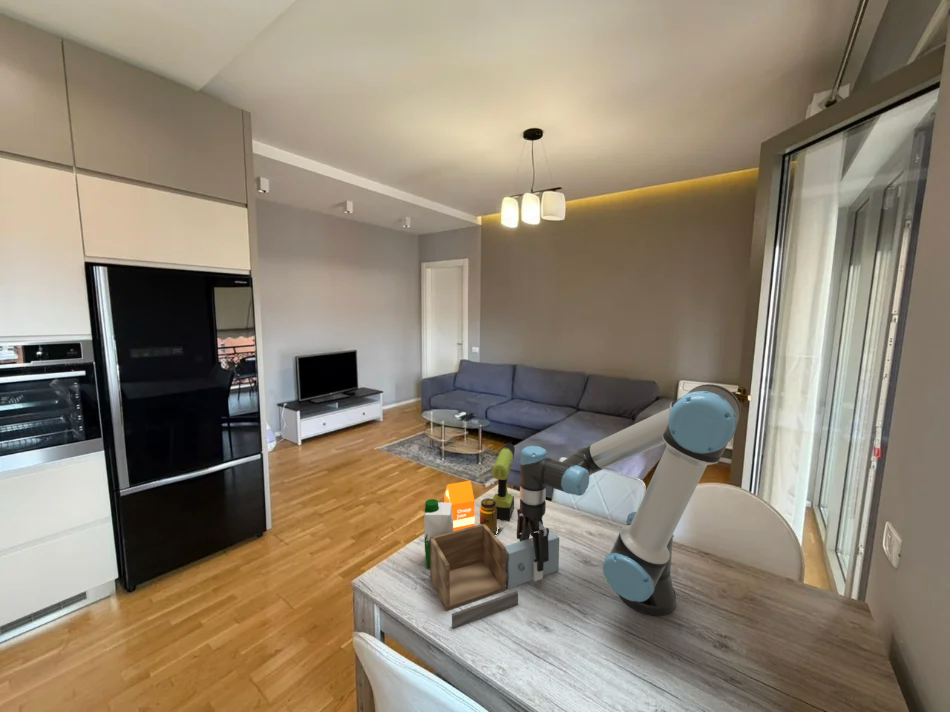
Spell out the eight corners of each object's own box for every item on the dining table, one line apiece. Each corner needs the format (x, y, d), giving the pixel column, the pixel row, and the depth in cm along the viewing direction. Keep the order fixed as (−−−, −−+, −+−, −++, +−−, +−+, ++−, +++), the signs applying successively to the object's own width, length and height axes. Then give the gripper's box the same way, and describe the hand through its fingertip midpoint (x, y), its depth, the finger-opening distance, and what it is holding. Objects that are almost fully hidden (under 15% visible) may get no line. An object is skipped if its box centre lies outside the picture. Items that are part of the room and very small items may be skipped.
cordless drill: (502, 493, 168) (502, 438, 164) (518, 495, 166) (519, 439, 163) (489, 522, 145) (490, 458, 142) (508, 524, 144) (509, 460, 140)
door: (560, 573, 118) (561, 539, 116) (510, 591, 110) (510, 556, 109) (551, 563, 122) (552, 531, 121) (502, 581, 114) (502, 547, 113)
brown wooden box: (519, 604, 105) (520, 560, 104) (453, 628, 97) (452, 581, 96) (487, 560, 123) (487, 522, 122) (428, 578, 115) (427, 537, 114)
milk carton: (426, 552, 127) (425, 495, 125) (454, 552, 127) (453, 495, 125) (423, 570, 119) (422, 509, 116) (452, 570, 119) (452, 509, 116)
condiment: (475, 535, 137) (475, 503, 136) (485, 523, 145) (485, 493, 143) (493, 540, 134) (494, 508, 132) (503, 528, 141) (503, 497, 140)
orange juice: (444, 532, 139) (443, 479, 136) (467, 527, 142) (467, 476, 139) (450, 545, 131) (450, 489, 129) (474, 539, 135) (474, 485, 132)
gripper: (563, 512, 106) (561, 589, 109) (526, 483, 124) (524, 550, 126) (540, 518, 103) (539, 597, 106) (505, 487, 120) (504, 556, 123)
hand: (531, 571), depth 116 cm, fingers open, 6 cm apart
